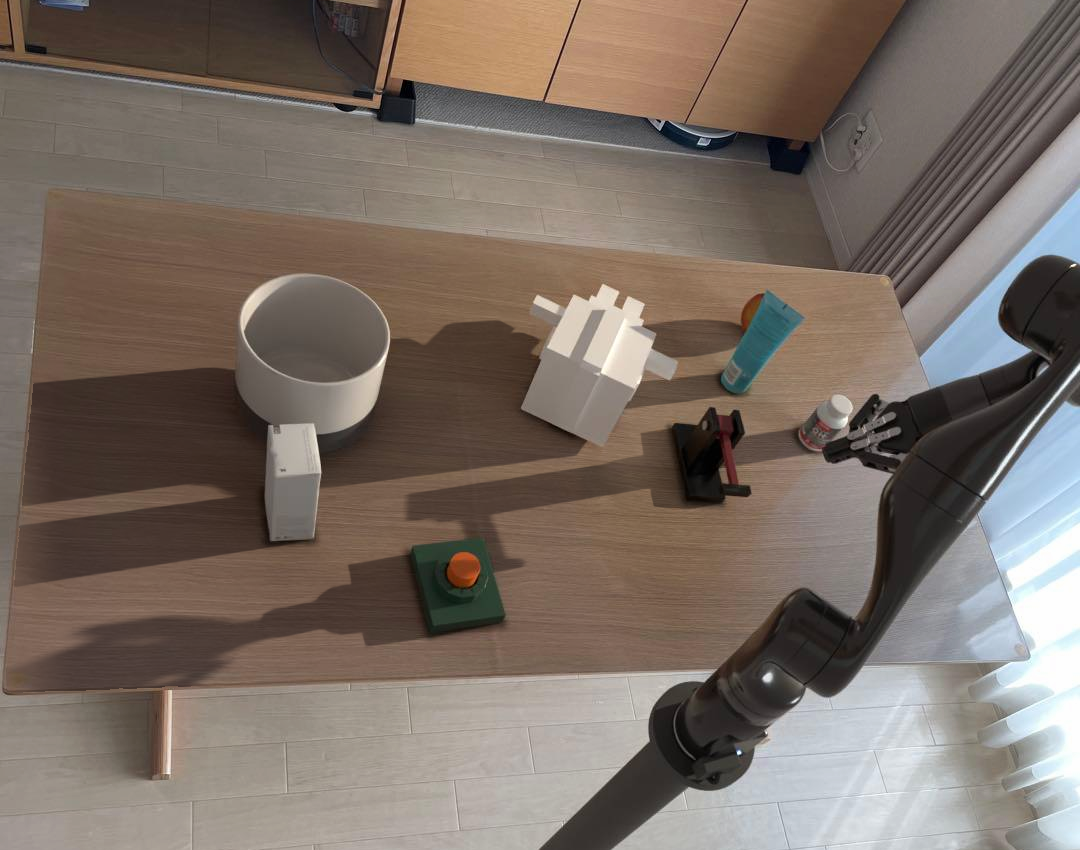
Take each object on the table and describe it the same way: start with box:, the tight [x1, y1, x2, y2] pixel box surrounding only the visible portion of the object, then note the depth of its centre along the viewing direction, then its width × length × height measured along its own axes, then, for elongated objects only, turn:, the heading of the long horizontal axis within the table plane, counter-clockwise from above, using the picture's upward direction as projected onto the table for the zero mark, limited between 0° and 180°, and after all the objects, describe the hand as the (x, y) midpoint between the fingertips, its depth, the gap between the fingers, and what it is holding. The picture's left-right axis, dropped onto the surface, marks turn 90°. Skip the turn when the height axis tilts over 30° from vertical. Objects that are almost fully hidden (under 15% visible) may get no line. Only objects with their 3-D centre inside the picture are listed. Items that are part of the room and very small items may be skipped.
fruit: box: [740, 292, 765, 334], centre depth 177 cm, size 8×8×8 cm
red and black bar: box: [716, 414, 752, 498], centre depth 148 cm, size 13×4×2 cm, turn 6°
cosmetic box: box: [264, 423, 322, 542], centre depth 128 cm, size 8×6×15 cm
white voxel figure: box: [520, 283, 680, 448], centre depth 158 cm, size 15×25×28 cm
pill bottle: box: [798, 394, 854, 452], centre depth 165 cm, size 5×5×10 cm
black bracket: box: [670, 406, 746, 504], centre depth 154 cm, size 14×6×12 cm, turn 5°
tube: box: [720, 289, 806, 394], centre depth 164 cm, size 7×5×19 cm, turn 57°
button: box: [446, 552, 480, 588], centre depth 131 cm, size 4×4×3 cm
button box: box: [409, 537, 507, 634], centre depth 133 cm, size 12×10×4 cm
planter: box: [233, 273, 391, 454], centre depth 136 cm, size 19×19×18 cm
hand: (824, 455), depth 140 cm, fingers closed
